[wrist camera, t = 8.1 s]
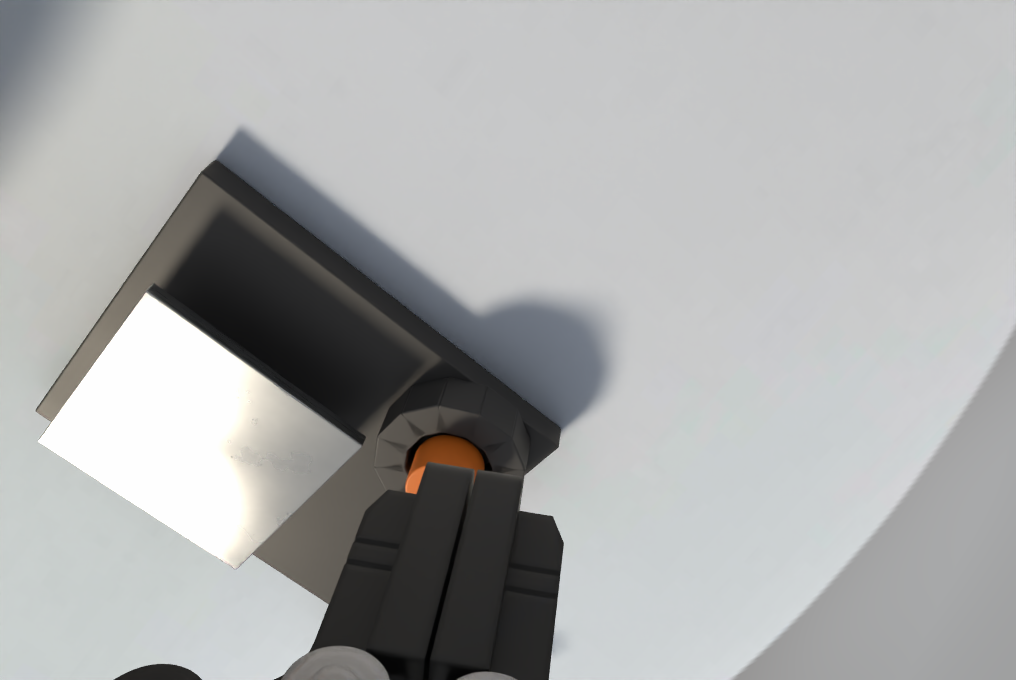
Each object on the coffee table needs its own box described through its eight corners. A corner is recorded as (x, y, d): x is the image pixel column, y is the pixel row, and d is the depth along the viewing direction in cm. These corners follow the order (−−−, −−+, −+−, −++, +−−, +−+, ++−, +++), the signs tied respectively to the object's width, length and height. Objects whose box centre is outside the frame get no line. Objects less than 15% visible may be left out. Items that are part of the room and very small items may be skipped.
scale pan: (367, 436, 33) (362, 446, 32) (241, 559, 37) (235, 570, 37) (154, 281, 31) (145, 290, 30) (46, 432, 35) (37, 441, 34)
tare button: (499, 462, 33) (492, 494, 32) (455, 500, 35) (446, 532, 33) (444, 421, 33) (434, 452, 31) (401, 461, 34) (390, 492, 32)
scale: (566, 424, 35) (559, 474, 33) (358, 599, 42) (339, 652, 39) (219, 153, 31) (181, 186, 29) (50, 394, 38) (7, 438, 35)
